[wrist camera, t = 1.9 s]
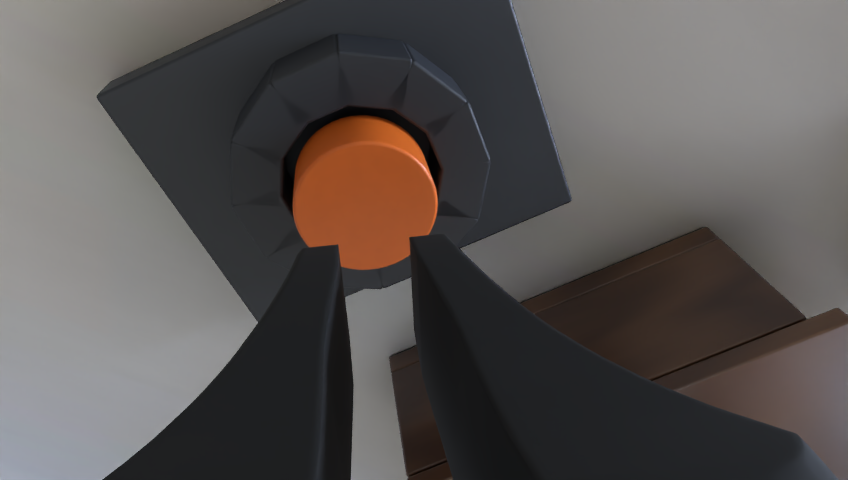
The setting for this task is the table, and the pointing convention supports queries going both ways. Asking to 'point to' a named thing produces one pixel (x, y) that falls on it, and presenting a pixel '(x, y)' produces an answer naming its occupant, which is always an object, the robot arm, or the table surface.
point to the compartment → (629, 323)
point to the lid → (773, 386)
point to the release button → (363, 191)
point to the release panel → (331, 100)
